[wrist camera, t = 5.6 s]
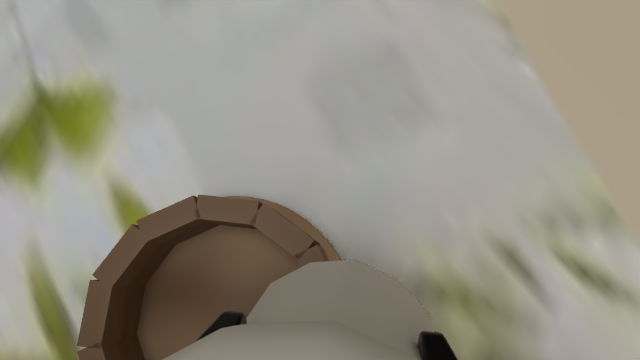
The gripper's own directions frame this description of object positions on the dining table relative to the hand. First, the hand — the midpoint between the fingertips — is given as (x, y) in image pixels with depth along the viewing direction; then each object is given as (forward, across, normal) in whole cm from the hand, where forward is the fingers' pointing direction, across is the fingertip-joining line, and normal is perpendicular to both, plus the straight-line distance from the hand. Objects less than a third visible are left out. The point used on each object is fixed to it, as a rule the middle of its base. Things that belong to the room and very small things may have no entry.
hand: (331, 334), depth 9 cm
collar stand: (+8, +5, +10) cm, 14 cm away
